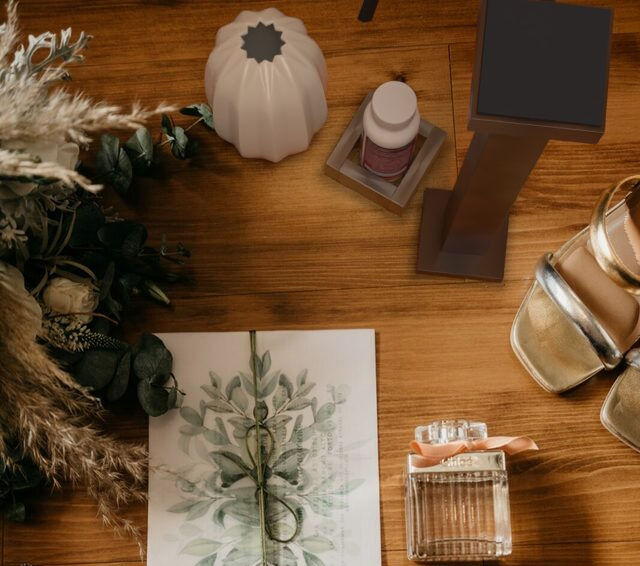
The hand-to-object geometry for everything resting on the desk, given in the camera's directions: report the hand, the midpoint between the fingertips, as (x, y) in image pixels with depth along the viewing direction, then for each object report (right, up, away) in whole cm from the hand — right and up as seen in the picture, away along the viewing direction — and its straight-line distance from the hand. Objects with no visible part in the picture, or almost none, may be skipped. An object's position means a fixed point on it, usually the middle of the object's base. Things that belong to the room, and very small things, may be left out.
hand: (421, 52), depth 73 cm
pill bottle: (-3, -6, +12) cm, 13 cm away
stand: (-3, -6, +12) cm, 13 cm away
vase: (-16, -1, +12) cm, 20 cm away
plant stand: (+6, -15, +11) cm, 20 cm away
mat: (+6, -13, -20) cm, 24 cm away
